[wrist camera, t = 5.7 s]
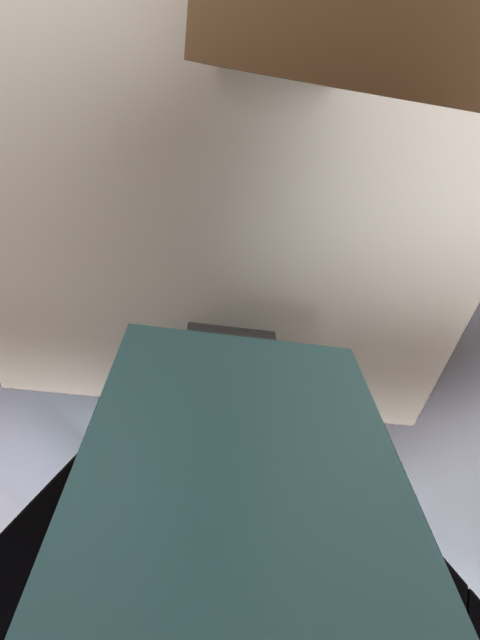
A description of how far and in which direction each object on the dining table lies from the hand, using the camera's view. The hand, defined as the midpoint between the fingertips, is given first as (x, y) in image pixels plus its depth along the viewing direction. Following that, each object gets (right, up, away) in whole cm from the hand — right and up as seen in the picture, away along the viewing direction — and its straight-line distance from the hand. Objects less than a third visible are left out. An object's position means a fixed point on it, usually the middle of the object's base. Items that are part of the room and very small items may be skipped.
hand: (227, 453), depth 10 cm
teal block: (0, +1, +1) cm, 1 cm away
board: (+1, +6, +1) cm, 6 cm away
